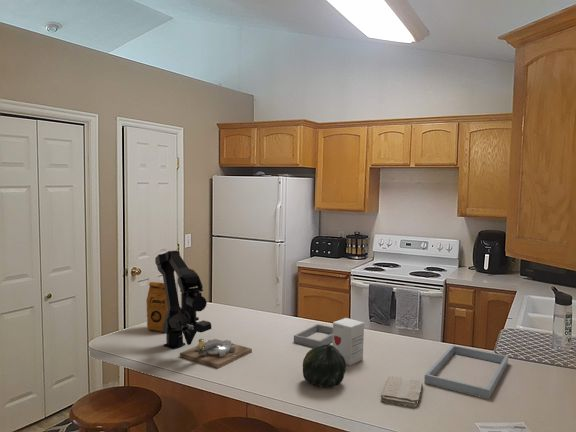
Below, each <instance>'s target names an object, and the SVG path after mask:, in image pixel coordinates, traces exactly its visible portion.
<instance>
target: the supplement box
mask: <svg viewBox="0 0 576 432" xmlns="http://www.w3.org/2000/svg"><path fill="white" fill-rule="evenodd" d="M332 327H333V341H332V344H331V345H332V346H334V347H335V348H336V349H337V350H338V351H339V352H340V353H341V354H342V356H343V357H344V359H345V361H346V366H352V365H354V364H356V363H358V362H361V361H362V360H363V359H364V337H365V336H364V334H365V322H364V321H359V320H357V319H356V320H355V319H352V318H349V317H344V318H341V319H339V320H336V321H333V323H332Z"/></svg>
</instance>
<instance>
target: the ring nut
mask: <svg viewBox="0 0 576 432" xmlns="http://www.w3.org/2000/svg"><path fill="white" fill-rule="evenodd" d="M214 339H215V338H212V339H208V340H207V341H206V342H205V339H204V338H199V339H198V344H197V345H196V346H197V351H198V353H201V356H204V357H207V356H219V357H226V354H229V353H230V352H235V350H236V345H237V344H236V345H231V343H232V340H229V339H225V340H221V341H220V339H217V340H216V341H215V340H214Z"/></svg>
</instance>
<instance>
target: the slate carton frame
mask: <svg viewBox="0 0 576 432" xmlns="http://www.w3.org/2000/svg"><path fill="white" fill-rule="evenodd" d="M454 354H456V355H458V356H459V355H460V356H465V357H470V358H474V359H479V360H484V361H489V362H494V363H498V364H499V366H498V368H497V369H496V371H495V373H494V375H493V377H492V379H491V380H490V382H489V383H488V386H486V387H482V386H479V385H475V384H470V383H467V382H462V381H457V380H453V379H449V378H445V377H440V376H437V375H436V374H437V373H439V371H440V370H441V369H442V368H443V366H444V365H445V364H446V363H447V362H448V361H449V360H450V359H451V357H452V356H453V355H454ZM508 364H509V356H508V355H505V354H500V353H494V352H490V351H484V350H479V349H475V348H470V347H464V346H459V345H454V344H452V345H451V346H450V347H449V348H448V349H447V350H446V351H445V352H444V353H443V354H442V355H441V356H440V357H439V358H438V360H437V361H436V362H434V364H433V365H432V366H431V367H430V368H429V370H427V372H425V374H424V382H423V383H424V384H426V383H427V385H430V384H431V385H430V386H434V385H435V386H434V387H439V388H441V389H442V388H443V389H447V390H450V391H454V392H458V391H459V393H462V394H466V395H470V394H471V395H470V396H474V395H476V396H475V397H478V396H480V397H479V398H482V397H483V398H482V399H486V398H487V399H486V400H490V398H491V397H490V396H492V395H493V393H494V390H495V389H496V387H497V385H498V383H499V381H500V379H501V377H503V374H504V373H505V370H506V368H507V366H508ZM434 375H435V376H434ZM491 394H492V395H491Z"/></svg>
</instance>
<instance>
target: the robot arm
mask: <svg viewBox="0 0 576 432" xmlns="http://www.w3.org/2000/svg"><path fill="white" fill-rule="evenodd" d="M154 262H155V265H156V268H157V270H158V271H159V273H160V274H161V275H162V278H163V283H164V287H165V293H166V299H167V305H168V310H167V313H166V315H165V321H164V323H163V325H162V328H163V332H162V333H164V334H166V339H165V340H166V343H164V344H163V347H167V348H170V349H174V350H175V349H178V348H181V347H182V346H185V345H188V346H190V345H191V344H192V343H193V340H194V338H195V336H196V334H197V333H204V332H207V331H209V330H212V323H211V322H210V321H208V320H204V319H203V320H201V321H199V320H200V319H199V317H198V316H197V312H198V313H200V312H202V311H204V310H205V309H206V307H207V303H208V302H207V300H206V298H205V297H204V296H202V292H203V291H204V290H203V288H204V287H203V283H202V281H201V278H200V276H199V275H198V272H196V271H195V270H194V269H191V268H189V267H188V266H187V264H186V262H185V261H184V259H183V257H182V256H181V253H180V251H179V250H168V251H166V252H164V253H158V254H157V256H156V257H155V261H154ZM175 274H176V275H177V283H176V277H175ZM177 284H178V287H179V289H180V290H179V291H180V302H181V303H180V302H179V295H178V289H177ZM184 339H185V342H186V343H185V342H184Z"/></svg>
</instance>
